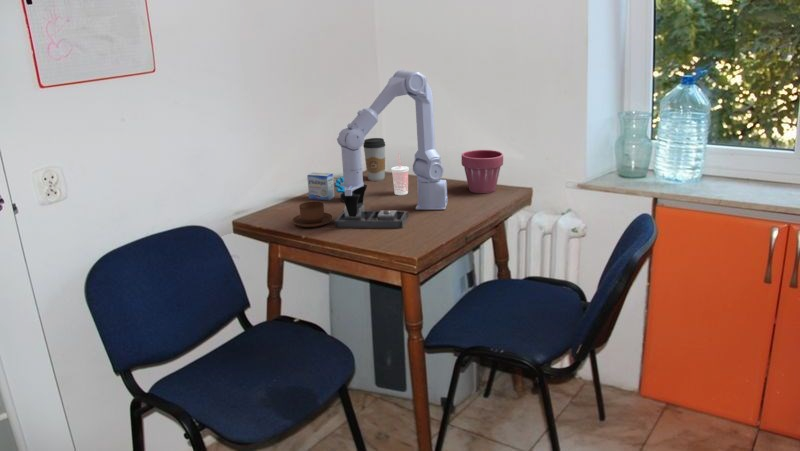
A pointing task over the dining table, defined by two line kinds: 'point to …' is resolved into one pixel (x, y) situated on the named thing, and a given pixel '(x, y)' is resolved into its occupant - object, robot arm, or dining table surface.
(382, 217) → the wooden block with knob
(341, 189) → the gear
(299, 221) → the cup and saucer
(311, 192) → the medicine box
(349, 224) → the grey flat rectangular frame
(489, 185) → the plant pot
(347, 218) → the grey square block
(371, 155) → the coffee cup
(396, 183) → the beverage cup
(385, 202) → the dining table surface
